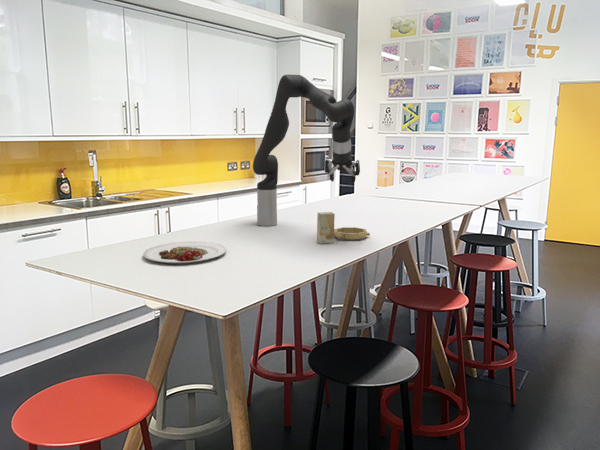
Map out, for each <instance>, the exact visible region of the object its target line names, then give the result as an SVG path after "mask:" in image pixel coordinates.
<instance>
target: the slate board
mask: <svg viewBox="0 0 600 450" xmlns="http://www.w3.org/2000/svg"><path fill="white" fill-rule="evenodd" d="M337 240H338V241H365V240H366V237H364V238H361V239H342V238H337Z"/></svg>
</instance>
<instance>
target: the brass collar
mask: <svg viewBox="0 0 600 450" xmlns="http://www.w3.org/2000/svg"><path fill="white" fill-rule="evenodd" d="M370 236H371V233H370V232H368V231H367V230H366V228H361V227H356V226H353V227H352V226H351V227H350V226H349V227H348V226H346V227H344V226H342V227H339V228H338V227H337V228H334V238H337V239H338V238H342V239H361V238H368V237H370Z"/></svg>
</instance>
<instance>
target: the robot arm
mask: <svg viewBox="0 0 600 450" xmlns="http://www.w3.org/2000/svg"><path fill="white" fill-rule="evenodd" d="M290 98H305V99H308V100H309V103H310V104H311V105H312V107H314V108H315V109H316V110H319V111H320V112H322V113H323V114H324V116H326V117H327V119H328V121H330V122H332V123H334V124H333V126H331V127H332V128H331V136H332V137H331V139H332V141H331V142H332V143H331V151H332V152H331V153H332V159H330V157H326V158H325V161H324V173H325V174H329V180H330V181H331V182H334V181H335V172H336V171H344V172H345V171H346V172H347V173H348V174H350V177H351V184H354V183H355V182H356V180H357V179H356V176H359V175H360V173H361V169H360V168H361V167H360V160H359V159H356V161H355V160H352V141H351V129H352V124H353V120H354V117H355V105H354V103H353V101H352V100H350V99H348V98H344V99H343V98H342V99H341V100H339V101H337V99H336V98H335V97H334V96H333V95H331V94H329V93H328V92H326V91H323V90H321V89H320V88H318V87H317V86H315V85H314V84H313V83H312V82H311V81H309V79H307V78H306V77H305V76H303V75H301V74H283V75H282V76H281V78H280V79H279V81H278V85H277V90H276V94H275V99H274V103H273V107H272V111H271V113H270V116H269V119H268V120H267V121H268V122H267V124H266V128H265V130H264V134H263V137H262V140H261V143H260V145H259V147H258V149H257V152H256V154H255V156H254V159H253V161H252V162H253V163H252V169H253V170H252V171H253V173H254V174H255V175H258V176H265V178H264V179H262V180H260V181H259V182H258V183H257V185H256V189H257V191H256V192H257V193H256V195H257V199H256V200H257V201H256V202H257V204H256V205H257V206H256V209H257V210H256V215H257V217H256V218H257V224H256V225H257V226H261V227H270V226H271V227H272V226H273V227H274V226H277V225H278V212H277V211H278V205H277V204H278V203H277V202H278V201H277V200H278V199H277V197H278V195H277V193H278V192H277V190H278V189H277V187H278V186H277V185H278V183H279V179H278V177H279V176H278V175H279V174H278V173H279V162H278V158H277V157H276V156H275V155H274V154H271V153H272V151H273V150H274V149H276V147H277V146H279V145H280V143H282V141H284V139H285V137H286V136H287V133H288V129H289V126H290V121H289V120H290V119H289V116H288V113H287V105H288V102H289V99H290ZM331 164H332V165H333V166H332V167H331V168H330V165H331ZM353 166H354V167H353ZM354 168H355V169H354Z"/></svg>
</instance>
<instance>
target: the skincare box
mask: <svg viewBox="0 0 600 450" xmlns="http://www.w3.org/2000/svg"><path fill="white" fill-rule="evenodd" d="M335 217H336V216H335V213H334V212H332V211H329V212H326V211H324V212H317V217H316V219H317V221H316V222H317V223H316V225H317V226H316V243H318V244H320V245H321V244H334V243H335V241H334V240H335V236H334V229H335Z"/></svg>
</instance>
